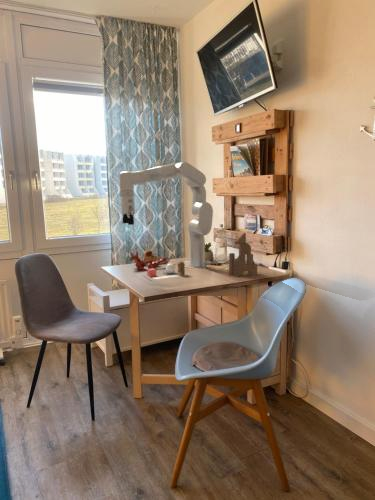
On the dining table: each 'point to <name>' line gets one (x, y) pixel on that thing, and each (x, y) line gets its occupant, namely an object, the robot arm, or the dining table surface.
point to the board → (153, 273)
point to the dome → (170, 268)
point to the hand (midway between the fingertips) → (128, 223)
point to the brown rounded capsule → (181, 268)
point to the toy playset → (148, 261)
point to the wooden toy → (242, 259)
